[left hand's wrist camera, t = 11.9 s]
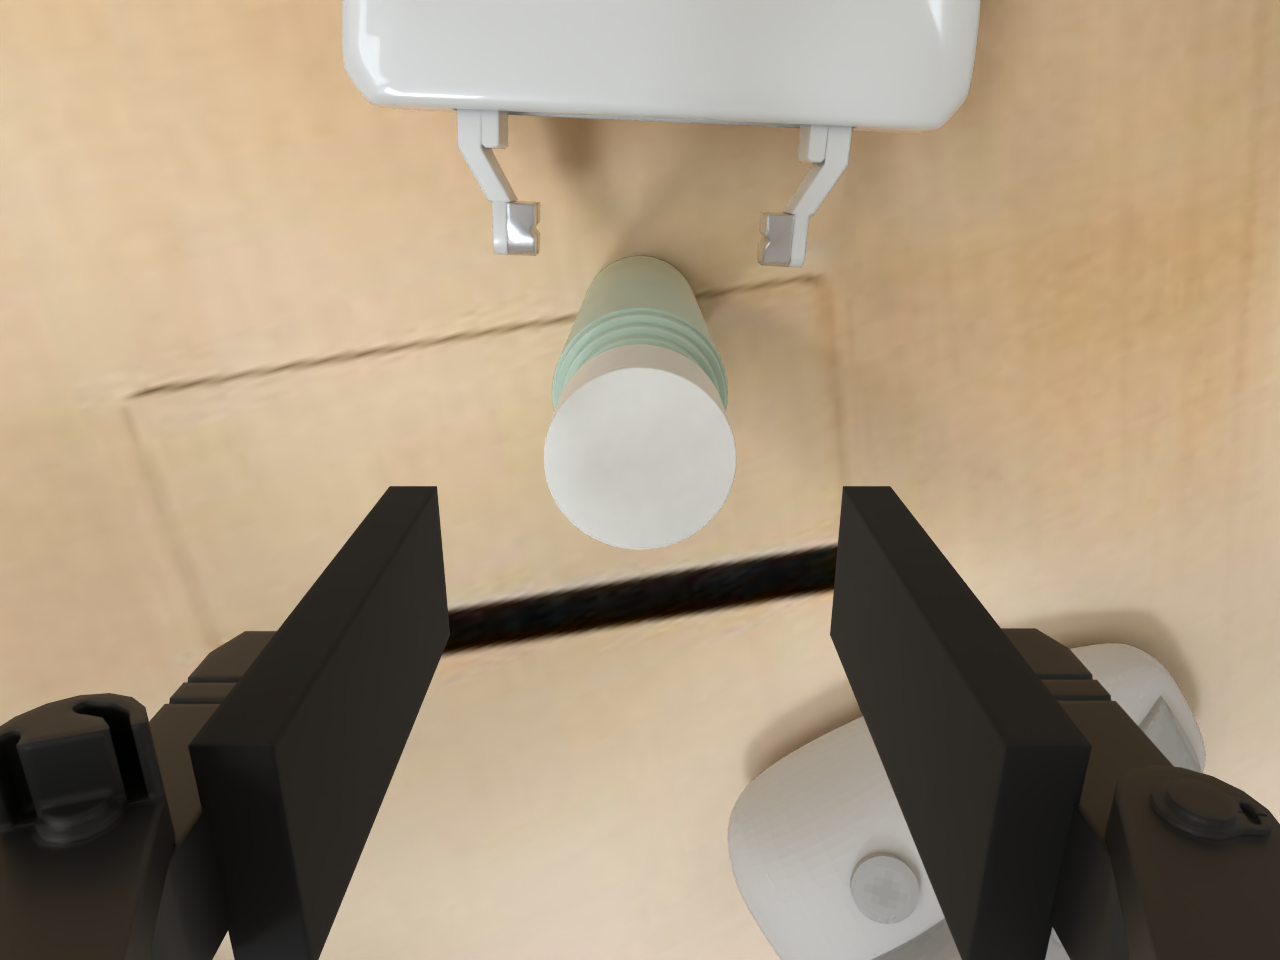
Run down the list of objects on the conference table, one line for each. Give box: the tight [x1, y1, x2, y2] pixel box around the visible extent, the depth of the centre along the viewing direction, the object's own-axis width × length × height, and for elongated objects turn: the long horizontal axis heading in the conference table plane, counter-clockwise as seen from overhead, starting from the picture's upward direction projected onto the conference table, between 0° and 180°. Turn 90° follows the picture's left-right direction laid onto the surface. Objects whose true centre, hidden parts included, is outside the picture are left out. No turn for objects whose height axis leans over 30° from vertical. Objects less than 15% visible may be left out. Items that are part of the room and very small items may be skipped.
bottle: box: [552, 256, 728, 412], centre depth 28 cm, size 5×5×20 cm
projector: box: [728, 643, 1205, 960], centre depth 40 cm, size 22×23×15 cm
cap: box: [544, 344, 737, 550], centre depth 20 cm, size 4×4×3 cm
